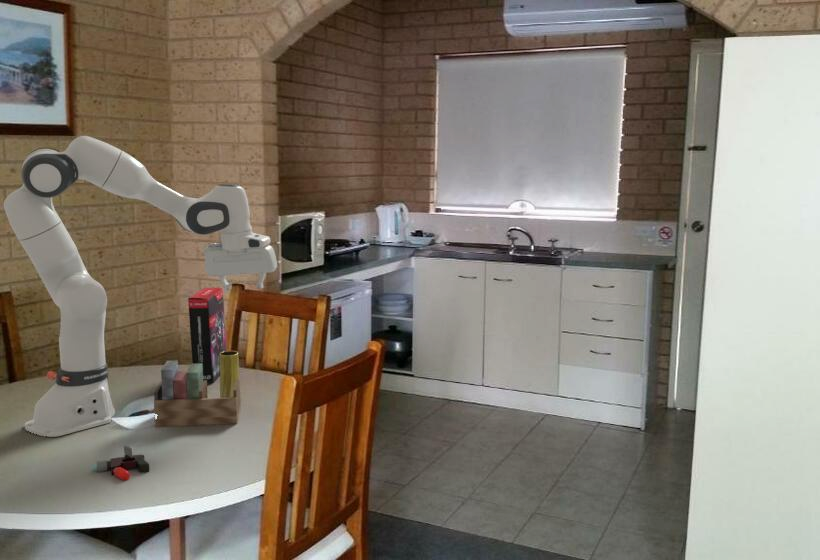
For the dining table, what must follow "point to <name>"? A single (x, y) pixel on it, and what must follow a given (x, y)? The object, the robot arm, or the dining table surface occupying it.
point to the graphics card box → (207, 330)
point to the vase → (228, 373)
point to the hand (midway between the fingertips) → (244, 289)
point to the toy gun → (124, 464)
